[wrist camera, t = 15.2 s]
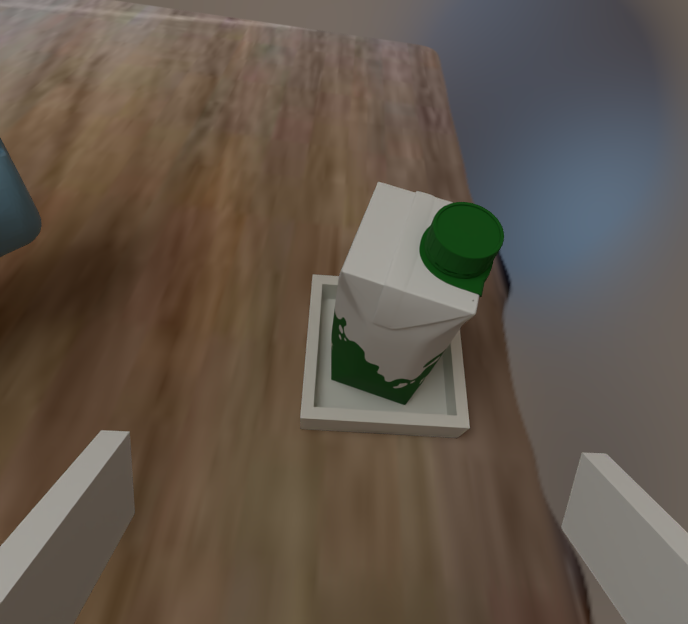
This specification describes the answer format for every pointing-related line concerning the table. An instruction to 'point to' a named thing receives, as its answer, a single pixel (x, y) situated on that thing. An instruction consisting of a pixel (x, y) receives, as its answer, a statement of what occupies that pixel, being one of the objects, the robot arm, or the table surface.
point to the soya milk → (408, 288)
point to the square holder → (368, 409)
